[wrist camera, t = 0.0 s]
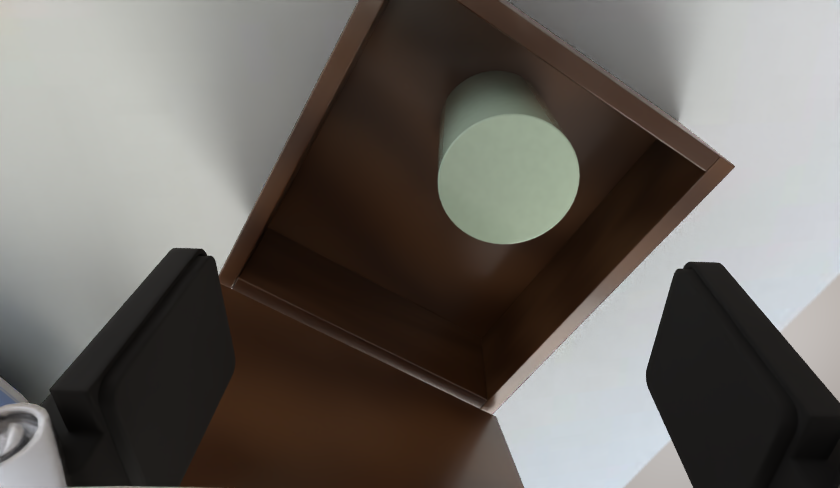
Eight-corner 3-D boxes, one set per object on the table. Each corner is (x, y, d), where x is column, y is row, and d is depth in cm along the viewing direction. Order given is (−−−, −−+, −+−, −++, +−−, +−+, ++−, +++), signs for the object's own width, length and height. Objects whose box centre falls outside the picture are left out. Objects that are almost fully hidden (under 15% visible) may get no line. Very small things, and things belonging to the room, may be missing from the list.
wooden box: (405, -71, 23) (395, -73, 18) (680, 122, 26) (736, 166, 21) (253, 224, 30) (215, 282, 25) (484, 343, 34) (491, 415, 29)
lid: (-92, 694, 8) (-111, 730, 8) (687, 896, 12) (664, 918, 12) (215, 280, 25) (207, 294, 25) (496, 416, 28) (488, 427, 28)
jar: (440, 69, 25) (439, 112, 19) (554, 71, 25) (591, 115, 19) (437, 175, 27) (436, 243, 21) (540, 177, 27) (568, 246, 21)
